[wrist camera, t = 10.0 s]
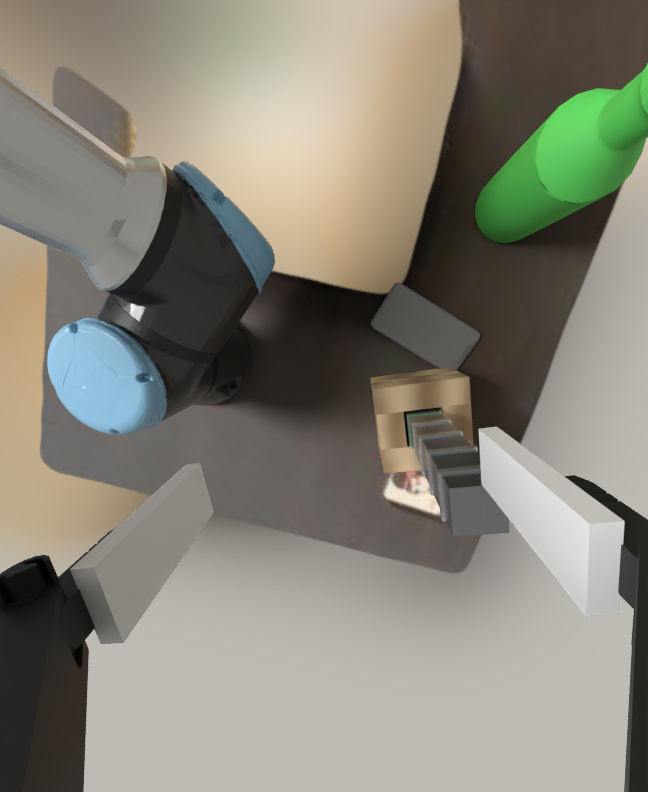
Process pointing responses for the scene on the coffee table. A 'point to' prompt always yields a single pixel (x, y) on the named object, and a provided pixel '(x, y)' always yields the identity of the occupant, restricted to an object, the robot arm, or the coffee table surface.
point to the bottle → (567, 162)
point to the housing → (417, 393)
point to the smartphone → (424, 328)
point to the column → (453, 474)
